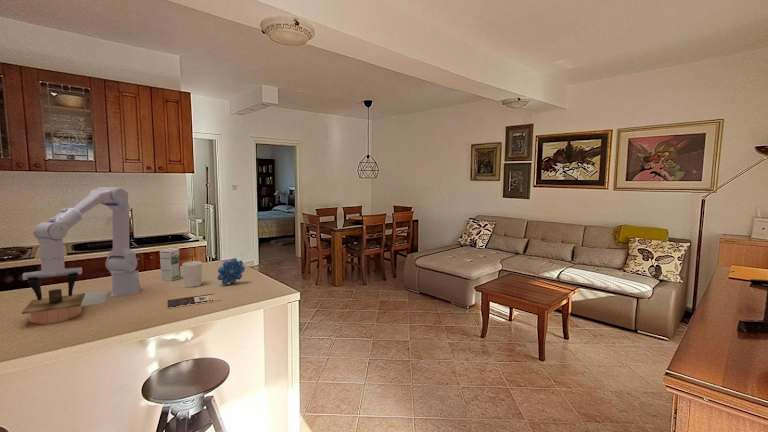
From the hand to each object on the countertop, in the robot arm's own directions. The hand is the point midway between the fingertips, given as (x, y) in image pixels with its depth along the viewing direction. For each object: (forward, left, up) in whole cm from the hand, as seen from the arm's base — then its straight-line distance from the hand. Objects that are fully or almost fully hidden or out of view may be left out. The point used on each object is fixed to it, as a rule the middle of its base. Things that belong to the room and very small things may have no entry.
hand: (55, 297), depth 120 cm
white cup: (-43, -17, -7) cm, 47 cm away
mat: (-4, -16, -7) cm, 18 cm away
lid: (0, 0, -2) cm, 2 cm away
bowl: (0, 0, -7) cm, 7 cm away
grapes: (-58, -10, -7) cm, 59 cm away
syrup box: (-36, -33, -7) cm, 49 cm away
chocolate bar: (-41, +7, -8) cm, 42 cm away
